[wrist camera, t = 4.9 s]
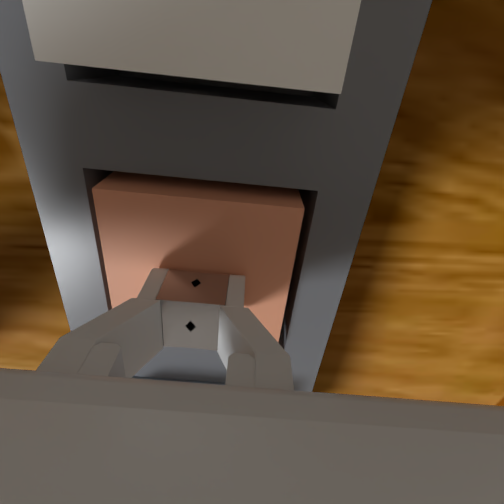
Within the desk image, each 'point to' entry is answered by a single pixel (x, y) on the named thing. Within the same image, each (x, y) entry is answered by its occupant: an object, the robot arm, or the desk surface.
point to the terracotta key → (200, 235)
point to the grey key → (202, 38)
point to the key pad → (212, 162)
